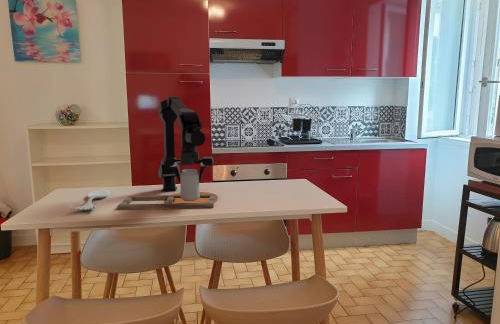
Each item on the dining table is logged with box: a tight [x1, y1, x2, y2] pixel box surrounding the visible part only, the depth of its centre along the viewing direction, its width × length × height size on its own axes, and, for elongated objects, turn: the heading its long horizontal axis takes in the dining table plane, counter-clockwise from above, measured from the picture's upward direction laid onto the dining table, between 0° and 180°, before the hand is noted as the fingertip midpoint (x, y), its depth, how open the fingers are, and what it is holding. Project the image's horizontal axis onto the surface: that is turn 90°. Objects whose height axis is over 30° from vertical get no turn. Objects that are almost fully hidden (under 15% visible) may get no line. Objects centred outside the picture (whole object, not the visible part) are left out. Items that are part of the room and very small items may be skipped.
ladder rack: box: [116, 193, 216, 211], centre depth 155 cm, size 16×36×2 cm, turn 92°
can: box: [179, 168, 201, 201], centre depth 154 cm, size 8×8×12 cm
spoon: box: [70, 189, 111, 211], centre depth 156 cm, size 9×32×4 cm, turn 10°
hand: (189, 182), depth 154 cm, fingers closed on can, 7 cm apart
